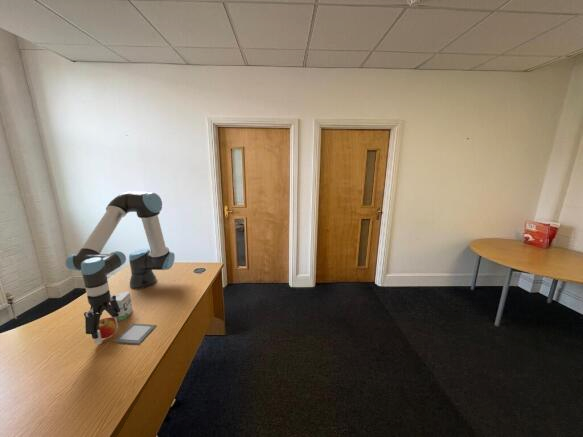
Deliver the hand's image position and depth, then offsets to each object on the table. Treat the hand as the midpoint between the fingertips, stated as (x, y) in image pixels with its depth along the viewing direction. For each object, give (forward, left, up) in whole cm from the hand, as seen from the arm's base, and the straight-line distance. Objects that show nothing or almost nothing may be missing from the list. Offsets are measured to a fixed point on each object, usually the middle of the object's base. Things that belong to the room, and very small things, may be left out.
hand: (107, 335), depth 103 cm
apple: (0, 0, 0) cm, 0 cm away
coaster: (-4, +11, -1) cm, 12 cm away
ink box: (-16, -5, -2) cm, 17 cm away
